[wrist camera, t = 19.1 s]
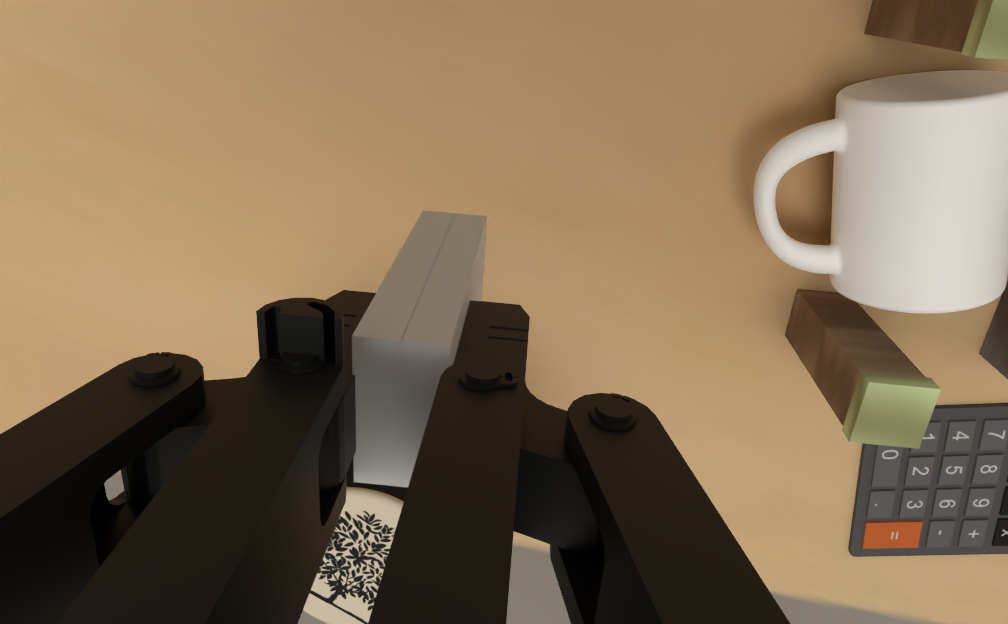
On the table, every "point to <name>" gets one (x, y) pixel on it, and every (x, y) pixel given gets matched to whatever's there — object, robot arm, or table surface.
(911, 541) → the calculator
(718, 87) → the table surface
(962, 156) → the mug
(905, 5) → the header dock
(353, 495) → the travel mug
